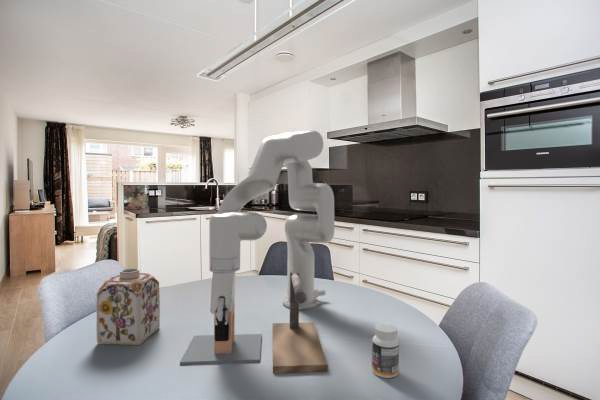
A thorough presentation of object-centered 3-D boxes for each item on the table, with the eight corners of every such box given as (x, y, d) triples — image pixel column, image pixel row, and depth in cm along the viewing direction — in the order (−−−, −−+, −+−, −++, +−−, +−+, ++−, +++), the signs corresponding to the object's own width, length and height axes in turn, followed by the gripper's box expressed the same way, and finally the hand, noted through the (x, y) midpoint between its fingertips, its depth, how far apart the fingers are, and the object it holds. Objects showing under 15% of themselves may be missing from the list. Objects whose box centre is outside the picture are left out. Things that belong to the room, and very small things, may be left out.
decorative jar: (121, 326, 97) (121, 264, 97) (160, 327, 97) (160, 265, 96) (94, 345, 85) (94, 275, 85) (139, 346, 85) (139, 275, 84)
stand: (313, 327, 98) (314, 268, 97) (327, 371, 74) (328, 293, 73) (272, 328, 97) (273, 268, 96) (272, 373, 73) (273, 294, 72)
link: (218, 340, 87) (219, 302, 87) (234, 339, 88) (234, 302, 87) (214, 353, 80) (214, 312, 80) (231, 353, 80) (231, 311, 80)
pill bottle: (368, 365, 76) (369, 322, 76) (393, 365, 77) (393, 322, 77) (376, 379, 71) (377, 333, 70) (402, 378, 71) (403, 332, 71)
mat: (261, 336, 92) (261, 333, 92) (259, 362, 78) (259, 359, 78) (194, 337, 90) (194, 335, 90) (179, 364, 76) (179, 362, 76)
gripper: (215, 256, 92) (215, 319, 92) (202, 272, 74) (202, 349, 75) (243, 256, 92) (242, 319, 93) (236, 271, 75) (236, 348, 75)
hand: (224, 332), depth 84 cm, fingers open, 8 cm apart
